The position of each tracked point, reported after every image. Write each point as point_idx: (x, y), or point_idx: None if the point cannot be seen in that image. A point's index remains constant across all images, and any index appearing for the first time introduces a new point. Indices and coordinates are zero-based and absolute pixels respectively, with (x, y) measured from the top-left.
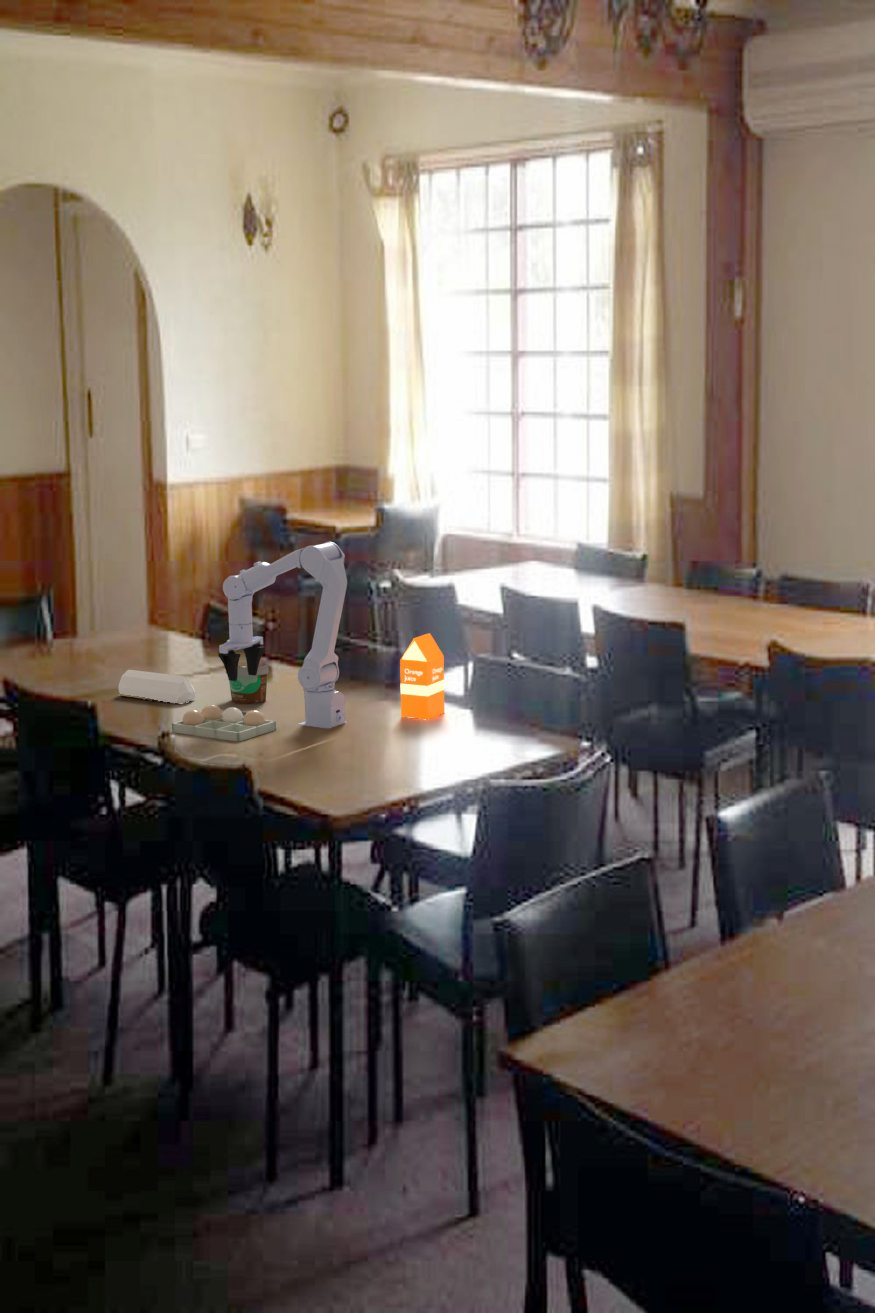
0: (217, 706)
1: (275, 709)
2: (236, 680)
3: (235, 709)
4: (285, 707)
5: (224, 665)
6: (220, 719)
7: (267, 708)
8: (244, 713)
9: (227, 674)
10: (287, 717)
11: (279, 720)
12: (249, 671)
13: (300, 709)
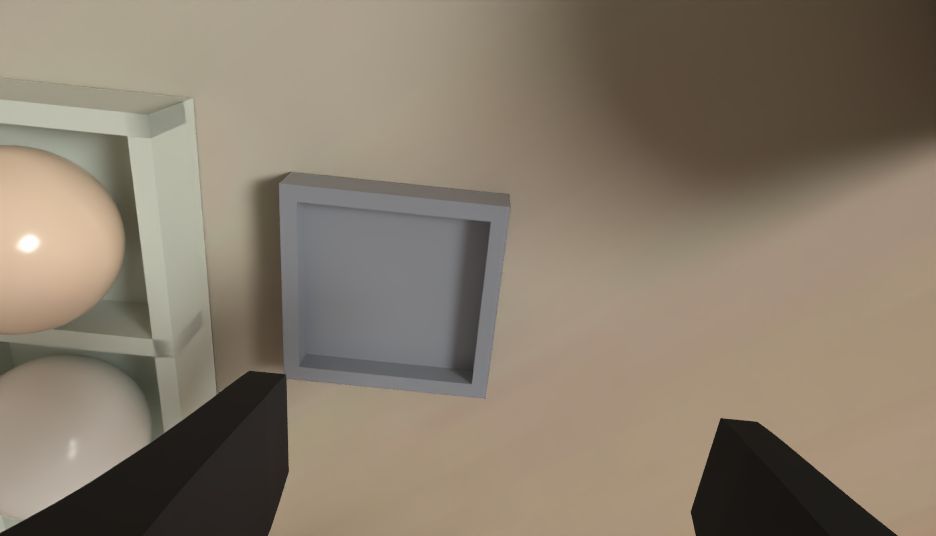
0: (12, 318)
1: (819, 308)
2: (281, 472)
3: (13, 519)
4: (905, 339)
5: (31, 529)
6: (23, 342)
7: (843, 234)
8: (487, 252)
9: (193, 417)
10: (593, 489)
11: (496, 486)
12: (734, 472)
13: (853, 455)
